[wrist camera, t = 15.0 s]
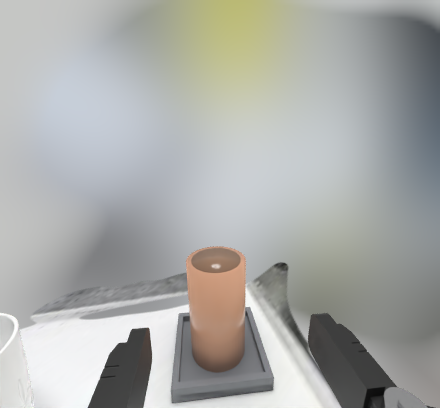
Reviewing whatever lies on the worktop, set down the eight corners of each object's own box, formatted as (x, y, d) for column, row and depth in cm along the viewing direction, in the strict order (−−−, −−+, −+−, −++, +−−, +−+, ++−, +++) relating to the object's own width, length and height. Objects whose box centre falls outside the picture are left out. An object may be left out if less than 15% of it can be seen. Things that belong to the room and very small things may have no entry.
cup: (191, 375, 22) (184, 277, 19) (192, 328, 28) (187, 247, 25) (250, 369, 23) (252, 272, 20) (239, 323, 29) (239, 244, 26)
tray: (172, 403, 21) (171, 389, 20) (179, 323, 30) (178, 313, 29) (272, 389, 22) (273, 377, 21) (249, 316, 31) (249, 307, 30)
